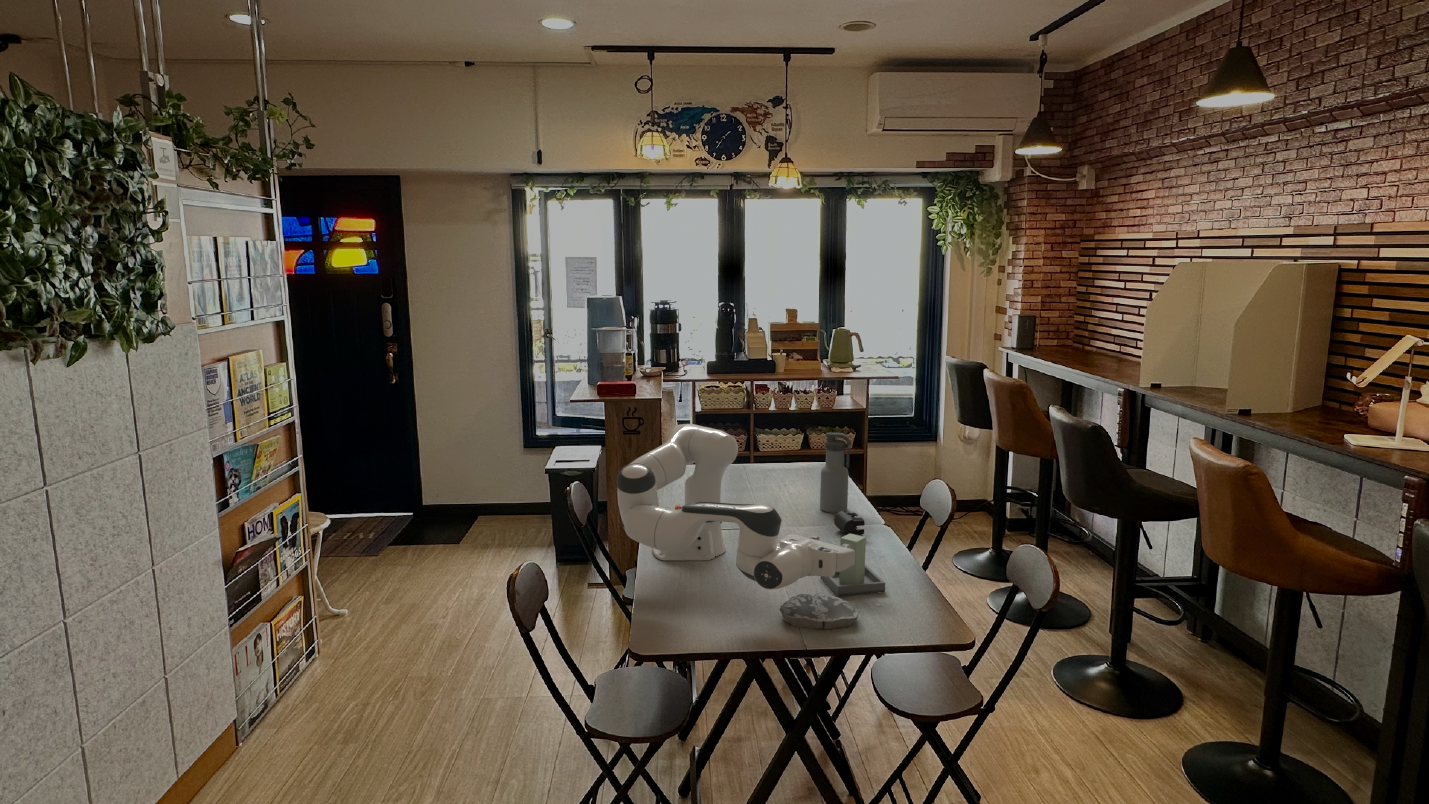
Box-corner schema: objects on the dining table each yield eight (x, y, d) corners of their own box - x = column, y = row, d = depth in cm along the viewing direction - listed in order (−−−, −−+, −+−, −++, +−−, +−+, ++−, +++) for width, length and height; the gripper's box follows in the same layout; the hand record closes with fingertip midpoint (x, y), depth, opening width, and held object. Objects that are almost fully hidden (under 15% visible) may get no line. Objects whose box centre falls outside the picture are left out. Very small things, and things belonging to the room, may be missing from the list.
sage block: (855, 587, 231) (856, 541, 228) (839, 582, 234) (840, 537, 232) (864, 581, 234) (865, 537, 232) (848, 577, 238) (849, 533, 235)
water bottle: (847, 506, 308) (850, 431, 303) (849, 514, 299) (851, 436, 294) (819, 505, 309) (821, 430, 304) (820, 513, 300) (822, 436, 295)
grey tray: (837, 596, 226) (837, 586, 226) (820, 577, 239) (820, 568, 239) (884, 592, 229) (885, 582, 229) (865, 574, 242) (865, 564, 242)
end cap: (833, 530, 281) (833, 511, 280) (853, 529, 282) (853, 509, 281) (843, 540, 271) (844, 520, 270) (864, 539, 273) (865, 518, 272)
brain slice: (849, 603, 222) (849, 593, 222) (862, 632, 206) (863, 620, 205) (775, 604, 222) (775, 593, 221) (782, 633, 205) (782, 621, 204)
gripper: (769, 559, 219) (799, 545, 229) (837, 579, 206) (865, 563, 217) (769, 536, 218) (799, 523, 228) (838, 554, 205) (866, 539, 216)
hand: (832, 542), depth 222 cm, fingers open, 8 cm apart
